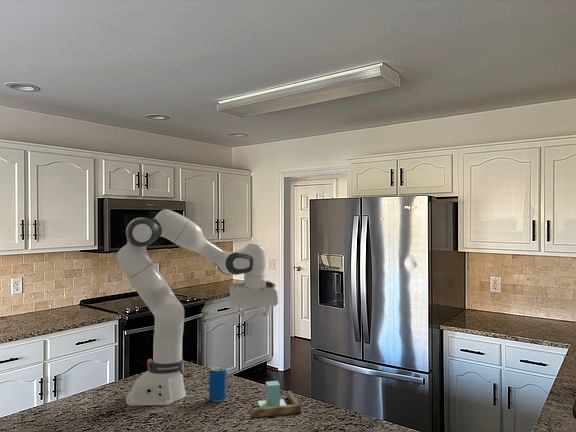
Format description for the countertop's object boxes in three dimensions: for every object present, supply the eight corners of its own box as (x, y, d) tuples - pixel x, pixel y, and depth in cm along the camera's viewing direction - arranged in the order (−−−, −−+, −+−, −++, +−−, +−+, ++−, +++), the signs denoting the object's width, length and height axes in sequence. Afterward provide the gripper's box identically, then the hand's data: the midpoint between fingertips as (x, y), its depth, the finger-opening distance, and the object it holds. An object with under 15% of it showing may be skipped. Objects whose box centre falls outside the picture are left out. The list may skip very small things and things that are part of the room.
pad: (261, 412, 161) (261, 411, 161) (257, 401, 171) (257, 401, 171) (289, 409, 163) (289, 409, 163) (283, 399, 173) (283, 398, 173)
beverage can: (222, 403, 169) (223, 371, 169) (206, 402, 170) (206, 370, 171) (228, 397, 175) (228, 366, 176) (212, 395, 177) (213, 365, 177)
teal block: (267, 407, 165) (267, 385, 165) (265, 403, 169) (265, 381, 169) (279, 406, 166) (279, 384, 166) (277, 402, 170) (277, 380, 170)
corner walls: (253, 417, 157) (253, 410, 157) (247, 400, 172) (247, 394, 172) (300, 412, 161) (300, 405, 161) (290, 397, 175) (290, 390, 176)
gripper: (230, 283, 184) (228, 317, 182) (279, 283, 188) (278, 317, 186) (229, 282, 190) (227, 315, 188) (276, 283, 194) (275, 315, 192)
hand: (253, 316), depth 187 cm, fingers open, 8 cm apart
